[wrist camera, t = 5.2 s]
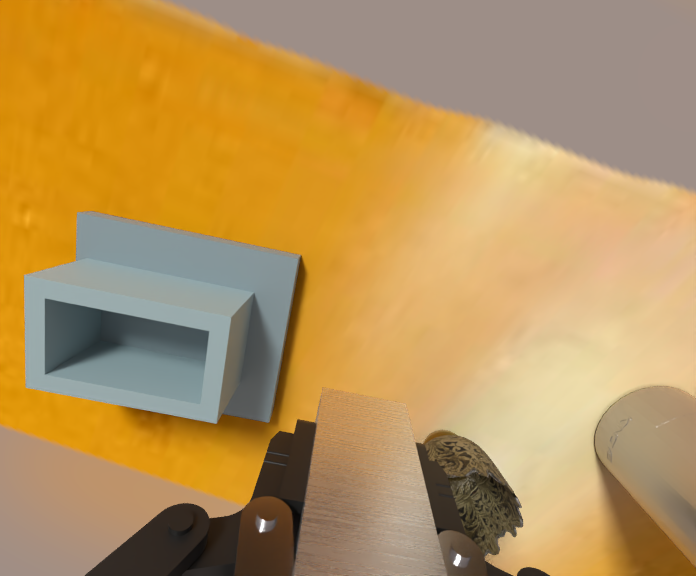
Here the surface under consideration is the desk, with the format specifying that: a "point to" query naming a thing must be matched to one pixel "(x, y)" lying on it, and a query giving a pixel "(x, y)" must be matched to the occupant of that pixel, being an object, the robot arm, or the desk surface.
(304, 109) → the desk surface
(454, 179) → the desk surface
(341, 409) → the grey painted wood block
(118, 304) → the well board
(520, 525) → the cup
